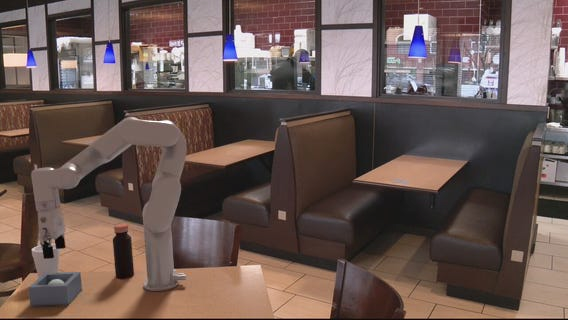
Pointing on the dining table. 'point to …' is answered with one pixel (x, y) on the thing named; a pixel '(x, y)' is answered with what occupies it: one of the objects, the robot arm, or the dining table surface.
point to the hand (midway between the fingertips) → (55, 253)
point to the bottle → (123, 252)
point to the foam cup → (45, 261)
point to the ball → (56, 282)
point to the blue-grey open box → (55, 289)
